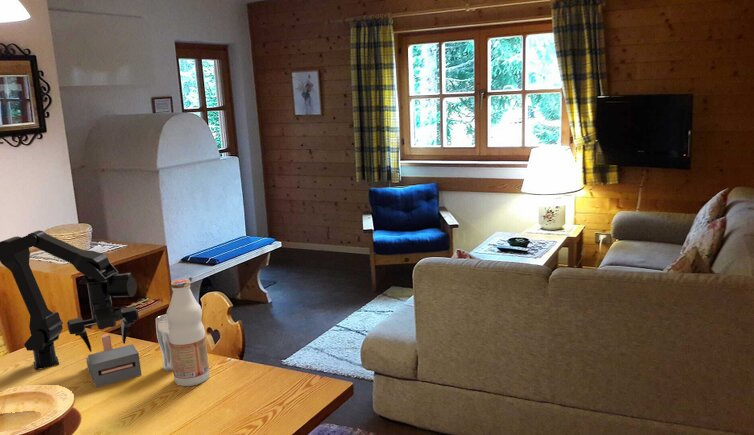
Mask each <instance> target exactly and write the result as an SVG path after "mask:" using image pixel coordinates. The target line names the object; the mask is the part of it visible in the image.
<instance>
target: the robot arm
mask: <svg viewBox="0 0 754 435" xmlns="http://www.w3.org/2000/svg"><path fill="white" fill-rule="evenodd" d="M31 248H36V249H39V250H41V251H43V252H45V253H47V254H50V256H51V255H52V256H54V257H56V258H59V259H60V260H63V261H65V262H66V263H69V264H71V265H72V266H73V267H74V269H75V270H76V271H77V272H78V273H81V274H82V275H83V277H82V279H80V281H79V282H78V283H79V284H80V285H87V286H86V287H87V292H88V299H89V306H90V312H91V318H90V319H86V320H85V319H84V320H83V318H82V317H77V318H76V317H75V318H72V319H68V321H67V324H66V325H67V330H68V332H69V335H75V336H76V337H78V336H79V337H80V338H81V339H82V341H84V344H85V345H86V347H87V349H88V350H89V352H92V346H91V343H90V340H89V337H88V333H87V331H86V327H87V328H88V327H90V326H97V328H98V330H105V329H108V328H114V327H116V326H117V322H119V321H120V325H121V328H120V329H121V339H122V340H121V341H122V344H124V345H125V344H126V339H127V335H128V333H129V332H128V331H129V329H130V327H131V324H134V323H135V321H138V320H139V319H140V317H139V311H138V310H137V309H136V307H134V306H129V307H124V308H121V306H120V307H113V302H112V298H124V297H125V298H128V297H131V298H132V297H134V296H135V295H136V293H137V290H138V283H137V281H136V279H135V277H133V276H132V273H131V272H125V273H119V271H118V269H117V268H116V267H115V266H114V265H113V264H112V263H111V262H110V261H109V258H108V256H107V255H106V254H104V253H101V252H99V251H95V250H87V249H81V248H78V247H76V246H74V245H72V244H70V243H68V242H66V241H64V240H61V239H59V238H57V237H54V236H52V235H50V234H48V233H47V232H45V231H43V230H36V231H33V232H30V233H28V234H27V235H25V236H18V235H17V236H16V235H15V236H13V237H12V236H11V237H10V238H6V239H4V240H1V241H0V263H1V264H2V265H3V266H4V267H5V268H7V269H8V270H9V271H10V273H11V274H12V277H13V279H14V281H15V284H16V285H17V288H18V290H19V293H20V295H21V297H22V300H23V303H24V305H25V306H26V310H27V311H28V314H29V323H28V324H29V325H28V328H29V333H30V336H29V338H28V339H27V340H26V341H25V343H24V344H23V345H24V347H25V350H26V351H32V353H33V358H34V359H33V360H34V361H33V367H34V371H37V370H42V369H45V368H50V367H55V366H58V365H60V360H59V358H58V356H57V354H56V349H55V342H56V341H58V340H59V337H60V334H62V331H63V329H64V328H63V324H64V322H63V321H62V319H61V317H60V313H59V312H58V311H55V312H53V311H51V310H50V309H49V308H48V306H47V303H46V301H45V299H44V296H43V294H42V291H41V289H40V287H39V285H38V282H37V280H36V278H35V275H34V273H33V271H32V269H31V266H30V260H31V258H30V257H31V252H30V249H31ZM104 272H105V273H104Z"/></svg>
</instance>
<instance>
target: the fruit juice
mask: <svg viewBox="0 0 754 435" xmlns="http://www.w3.org/2000/svg"><path fill="white" fill-rule="evenodd" d="M170 287H171V290H172V294H171V298H170V299H171V300H170V303H169V306H168V308H167V310H166V314H167V320H168V322H169V325H170V328H169V343H170V350H171V358H172V366H173V371H172V373H173V380H174V382H175V384H176V385H177V386H180V387H192V386H196V385H200V384H202V383H204V382H206V381H207V380H208V379H209V378H210V364H209V356H208V349H207V348H208V347H207V340H206V333H205V330H206V329H205V326H204V324H203V322H202V316H203V310H202V306H201V305H200V303H198V301H197V300H196V298H195V296H194V294H193V292H192V290H191V281H190V279H188V278H187V279H186V278H185V279H182V278H181V279H177V280H174V281H171V283H170Z"/></svg>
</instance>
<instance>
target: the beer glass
mask: <svg viewBox="0 0 754 435" xmlns="http://www.w3.org/2000/svg"><path fill="white" fill-rule="evenodd" d="M169 328H170V325H169V322H168V320H167V313H165V314H162V315H159V316H157V317H156V318H155V330H156V337H157V341H158V345H159V348H160V351H161V354H162V359H163V361H162V369H163V371H166V372H167V371H168V372H171V371H172V372H173V366H172V358H171V350H170V343H169Z"/></svg>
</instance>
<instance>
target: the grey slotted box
mask: <svg viewBox="0 0 754 435" xmlns="http://www.w3.org/2000/svg"><path fill="white" fill-rule="evenodd" d="M87 356H88V357H86V358H85V359H86V360H85V361H86V366H87V369H88V372H89V374H90V377H91V380H92V381H93V384H94V387H95V388H100V387H102V386H103V387H104V386H106V385H107V386H108V385H111V384H114V383H117V382H121V381H125V380H126V381H127V380H129V379H132V378H133V379H134V378H136V377H140V376H142V367H141V362H140V354H139V352H138V350H137V349H136V347H135V344H133V343H131V344H127V345H124V346H120V347H116V348H112V349H111V350H107V351H104V350H103V351H99V352H95V353H90V354H88V355H87ZM127 363H132V365H133V366H131V367H128V368H124V369H120V370H116V371H112V372H108V373H105V374H102V373H101V371H100V370H104V369H107V368H111V367H115V366H119V365H123V364H127Z"/></svg>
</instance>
